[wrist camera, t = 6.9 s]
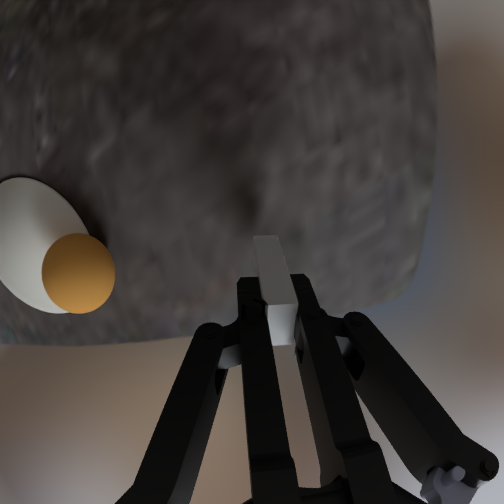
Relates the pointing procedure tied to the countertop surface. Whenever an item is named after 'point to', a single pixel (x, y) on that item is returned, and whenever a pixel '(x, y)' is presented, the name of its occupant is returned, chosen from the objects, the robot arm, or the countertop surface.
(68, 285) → the ball
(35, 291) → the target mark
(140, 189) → the countertop surface
